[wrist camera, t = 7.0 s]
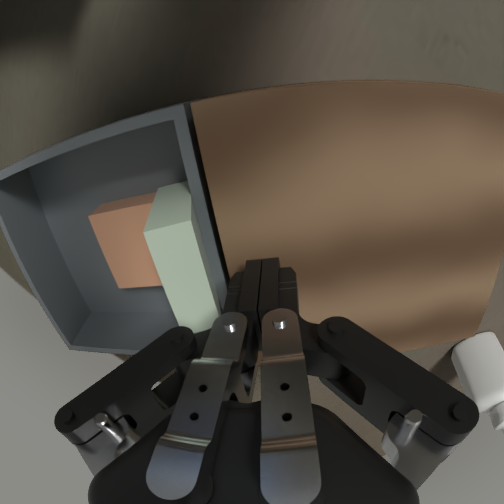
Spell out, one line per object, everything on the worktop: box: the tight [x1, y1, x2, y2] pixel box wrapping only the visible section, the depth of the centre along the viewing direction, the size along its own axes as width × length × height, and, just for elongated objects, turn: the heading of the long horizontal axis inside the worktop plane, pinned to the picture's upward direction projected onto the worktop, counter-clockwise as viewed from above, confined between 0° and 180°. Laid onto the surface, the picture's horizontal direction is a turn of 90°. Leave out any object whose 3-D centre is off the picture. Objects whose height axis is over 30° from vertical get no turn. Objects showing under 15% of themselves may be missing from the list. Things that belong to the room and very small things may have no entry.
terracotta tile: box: [88, 192, 162, 289], centre depth 20 cm, size 6×6×2 cm
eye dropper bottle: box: [451, 332, 504, 433], centre depth 21 cm, size 4×6×12 cm
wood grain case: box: [190, 80, 504, 367], centre depth 17 cm, size 16×16×6 cm
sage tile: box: [143, 180, 221, 333], centre depth 16 cm, size 6×6×2 cm
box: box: [0, 97, 230, 355], centre depth 20 cm, size 16×16×5 cm
